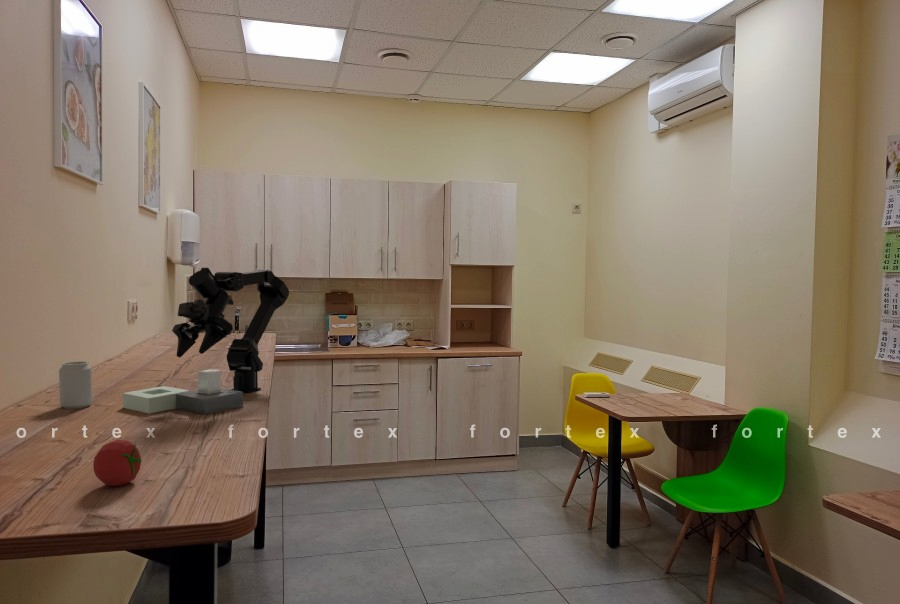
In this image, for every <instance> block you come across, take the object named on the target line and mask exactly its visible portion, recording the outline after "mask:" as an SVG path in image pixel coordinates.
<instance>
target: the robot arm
mask: <svg viewBox="0 0 900 604" xmlns="http://www.w3.org/2000/svg"><path fill="white" fill-rule="evenodd" d="M188 284H189V285H190V286H191V287H192V289H194V291H195V292H196V293H197V294H198V295H199V296H200V298H202V299H199V298H198V299H195V300H193V301H188V302H182V303H179V304H178V309H177V316H178V317H183V318H187V319H189V320H188V321H189V322H190V323H191V324H193V325H191V324H189V323H188V322H181V323H177V324H174V326H173V327H172V329H171V332H173V333H174V335H175V336H176V337H177V340H178V341H177V350H176V357H177V358H181V357H182V356H184V355H185V354H186V353H187V351H189V349H191V348H192V347H193V346H194V345H195V344H196V340H198V338H199V336H200V333H205V334H204V336H203V339H202V341H201V344H200V346H199V349H198V353H199V354H200V355H203V354H204V353H206V352H207V351H209V350H210V349H211V348H212V347H213V346H215V345H216V344H217V343H219V342H220V341H222V340H223V339H225V338H227V336H229V335H231V334H232V332H233V330H234V327H233V324H232V323H231V322H230V321H229V320H227V319H226V318H225V315H224V314H223V313H224V311H225V309H226V307H227V306H232V305H234V300H233V298H232V295H229V294H228V292H233V293H235V292H239V291H241V290H242V289H244V288H245V287H246V286H249V285H250V286H251V285H256V286H257V287H256V290H257V291H258V293H259V301H260V304H259V306H258V308H257V309H256V312H255V313H254V315H253V318H252V319H251V321H250V322H249V325H248V327H247V328H246V330H245V332H244V334H243V336H242V338H241V337H240V338H233V340H231V345H230V346H229V347H228V348H227V350H228V351H227V354H226V361H227V366H228V370H229V371H230V372H231V371H234V376H232V377H233V381H232V382H233V388H231V389H230V390H235V391H241V392H243V394H244V393H251V392H256V391H260V390H262V387H258V385H259V384H258V382H259V381H258V377H259V376H258V373H259V372H261V371H262V370H263V367H264V362H263V360H261V358H260V357H259V354H260V351H259V346H258V345H259V342H260V341H261V339H262V337H263V335H264V333H265V331H266V328H267V327H268V325H269V322H270V321H271V319H272V318H273V315H274V313H275V311H276V310H277V309H279V308H281V307H282V306H284V304H285V302H287V300H288V298H289V295H290V289H289V287H288V286H287V285H286V283H285V282H284V281H283V280H282V279H280V278H279V277H278V276H276V275H275V274H274V272H273V271H272V270H270V269H257V270H252V271H245V272H238V271H216V272H215V273H214V274H213V273H212V271H211V270H210V268H209V267H201V269H200V270H198V271H196V272H195V273H193V274H192V275H190V277H189V279H188ZM203 299H205V300H203Z"/></svg>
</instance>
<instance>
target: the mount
mask: <svg viewBox="0 0 900 604" xmlns="http://www.w3.org/2000/svg"><path fill="white" fill-rule="evenodd" d="M189 391H190V392H185V393H180V394H176V408H175V410H179V411H183V412H187V413H189V412H190V413H193V414H199V415H201V416H202V415H204V416H206V415H211V414H215V413H220V412H223V411H229V410H234V409H238V408H241V407H244V395H243V394H244V393H243V392H241V391H235V390H231V389H228V388H223V387H221V393H219V394H214V395H209V396H206V395H201V394H199V389H197V390H196V389H195V390H192V391H191V390H189Z"/></svg>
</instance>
